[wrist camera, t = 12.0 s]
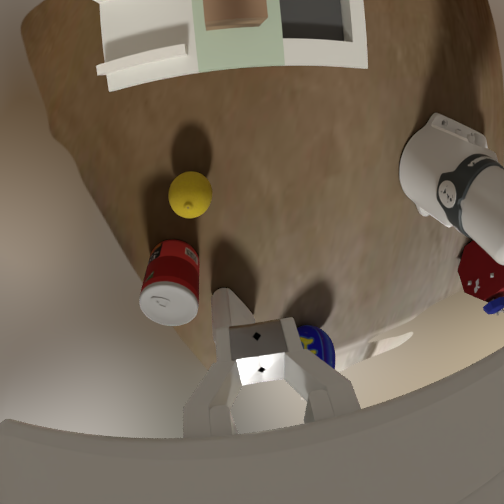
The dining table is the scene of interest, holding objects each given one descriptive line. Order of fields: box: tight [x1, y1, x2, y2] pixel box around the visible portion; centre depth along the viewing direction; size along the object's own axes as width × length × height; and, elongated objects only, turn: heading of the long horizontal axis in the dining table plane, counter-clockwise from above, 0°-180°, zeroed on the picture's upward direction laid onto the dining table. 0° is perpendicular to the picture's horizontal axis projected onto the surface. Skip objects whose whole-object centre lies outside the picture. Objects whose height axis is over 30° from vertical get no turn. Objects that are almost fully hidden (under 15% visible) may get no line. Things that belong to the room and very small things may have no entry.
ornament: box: [297, 325, 335, 369], centre depth 54 cm, size 11×9×15 cm
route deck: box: [94, 0, 368, 92], centre depth 24 cm, size 32×16×6 cm, turn 95°
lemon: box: [168, 171, 212, 218], centre depth 36 cm, size 6×6×8 cm
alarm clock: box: [458, 240, 504, 315], centre depth 46 cm, size 15×9×20 cm, turn 158°
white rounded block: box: [211, 288, 255, 344], centre depth 48 cm, size 10×4×12 cm, turn 30°
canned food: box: [139, 239, 199, 326], centre depth 41 cm, size 8×8×11 cm
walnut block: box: [203, 0, 268, 31], centre depth 22 cm, size 6×6×6 cm
